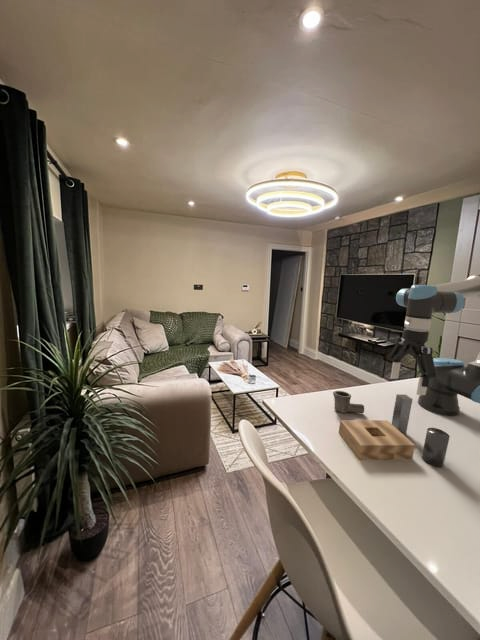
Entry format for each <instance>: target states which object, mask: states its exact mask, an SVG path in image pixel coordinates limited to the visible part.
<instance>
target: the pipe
mask: <svg viewBox="0 0 480 640" xmlns="http://www.w3.org/2000/svg"><path fill="white" fill-rule="evenodd" d="M332 394H333V397H334V410H335V411H336V412H337V413H342V414H346V413H354V414H364V412H365V406H364V404H362V403H352V402H351V398H352V394H351V393H349V392H347V391H343V390H335V391H332Z"/></svg>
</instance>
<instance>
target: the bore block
mask: <svg viewBox="0 0 480 640" xmlns="http://www.w3.org/2000/svg"><path fill="white" fill-rule="evenodd" d="M338 434H339V435H340V436H341V438H342V439H343V441H344V442H345V443H346V444H347V446H348V447H349V448H350V450H351V451H352V453H353V454H354V456H356V458H357V459H358V460H360V461H361V460H372V461H373V460H413V459H414V458H413V457H414V454H415V448H416V444H414V443H413V441H411V440H410V439H409V438H407V436H405V434H402V433H401V432H400V431H399V430H397V429H396V428H395V427H394V426H393V425H392V422H390V421H389V420H385V419H384V420H382V419H381V420H378V419H377V420H375V419H373V420H371V419H370V420H368V419H366V420H365V419H359V420H358V419H356V420H355V419H353V420H352V419H351V420H348V419H345V420H344V419H342V420H341V419H340V421H339V429H338Z"/></svg>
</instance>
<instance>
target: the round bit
mask: <svg viewBox="0 0 480 640" xmlns="http://www.w3.org/2000/svg"><path fill="white" fill-rule="evenodd" d="M450 438H451V436H450V435H449V433H447V432H446V431H444V430H442V429H440V428H436V427H428V428H427V429H426V434H425V439H424V444H423V449H422V454H421V459H422V461H423V462H425V464H427V465H429V466H431V467H434V468H438V469H439V468H441V469H442V468H443V467H444V466H445V465H444V463H445V461H446V460H445V459H446V455H447V450H448V445H449V441H450Z"/></svg>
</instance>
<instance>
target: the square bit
mask: <svg viewBox="0 0 480 640" xmlns="http://www.w3.org/2000/svg"><path fill="white" fill-rule="evenodd" d="M412 404H413V398H412V397H410V396H408V395H407V394H400V393H399V394H396V396H395V402H394V408H393V413H392V419H391V424H392V425H393V426H394V427H395V428H396V429H397V430H399V431H400V432H401V433H402V434H403V435H407V431H408V426H409V420H410V415H411V409H412Z"/></svg>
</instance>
